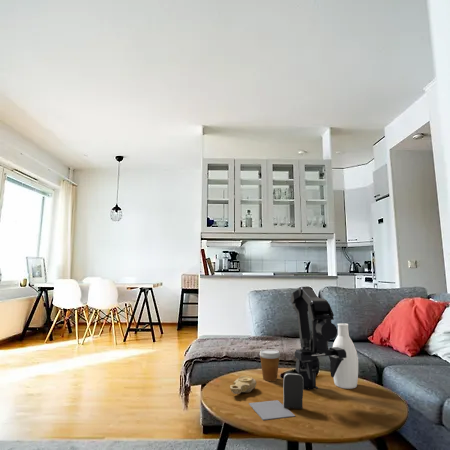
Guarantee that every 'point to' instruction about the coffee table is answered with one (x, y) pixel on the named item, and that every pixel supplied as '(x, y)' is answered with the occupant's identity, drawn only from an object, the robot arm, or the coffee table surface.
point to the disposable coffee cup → (269, 364)
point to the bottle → (346, 360)
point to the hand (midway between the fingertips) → (321, 378)
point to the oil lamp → (243, 385)
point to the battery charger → (293, 391)
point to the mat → (271, 410)
